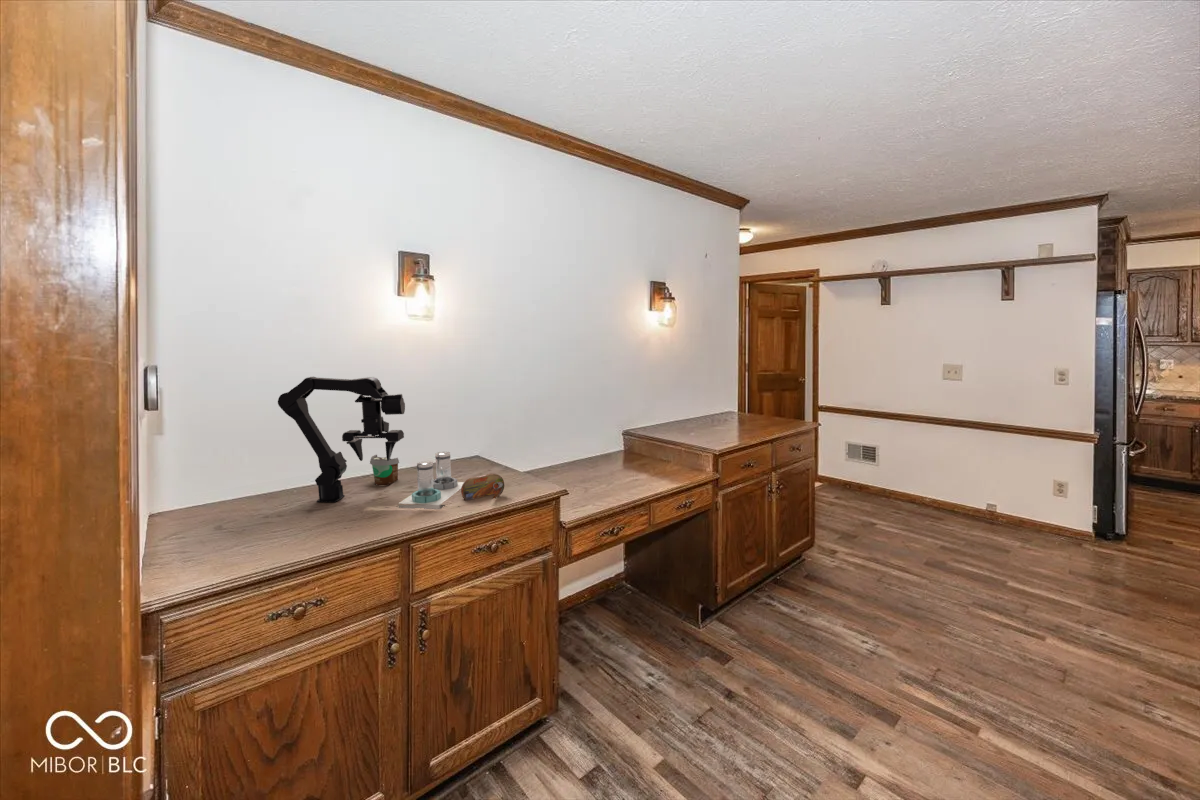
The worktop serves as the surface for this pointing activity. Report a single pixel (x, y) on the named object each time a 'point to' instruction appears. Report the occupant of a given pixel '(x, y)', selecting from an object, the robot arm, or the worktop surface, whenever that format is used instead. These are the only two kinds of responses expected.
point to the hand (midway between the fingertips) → (375, 460)
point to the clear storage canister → (425, 478)
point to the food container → (384, 470)
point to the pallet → (432, 504)
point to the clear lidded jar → (443, 467)
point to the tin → (482, 486)
